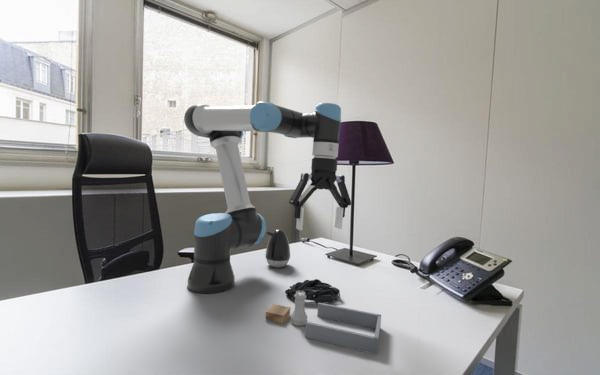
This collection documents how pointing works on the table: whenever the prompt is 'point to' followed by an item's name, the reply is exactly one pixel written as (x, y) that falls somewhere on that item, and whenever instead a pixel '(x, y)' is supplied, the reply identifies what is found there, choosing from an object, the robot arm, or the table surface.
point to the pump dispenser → (277, 249)
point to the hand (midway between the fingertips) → (319, 228)
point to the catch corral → (344, 336)
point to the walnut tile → (278, 313)
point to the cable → (316, 296)
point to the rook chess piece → (299, 310)
